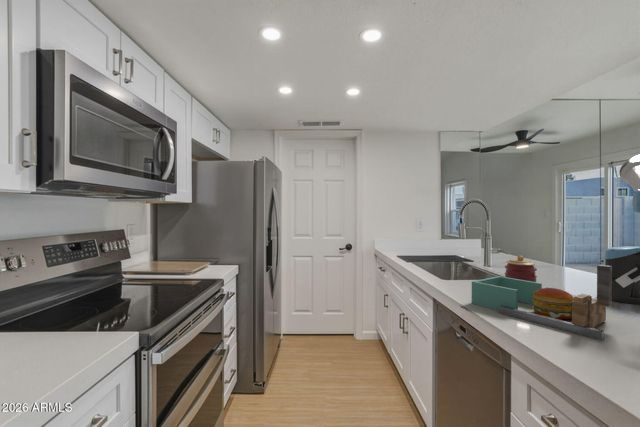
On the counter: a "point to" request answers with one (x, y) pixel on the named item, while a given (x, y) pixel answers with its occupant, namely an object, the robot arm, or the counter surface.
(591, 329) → the rail
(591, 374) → the counter surface
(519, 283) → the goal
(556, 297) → the burger
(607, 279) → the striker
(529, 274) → the canister
